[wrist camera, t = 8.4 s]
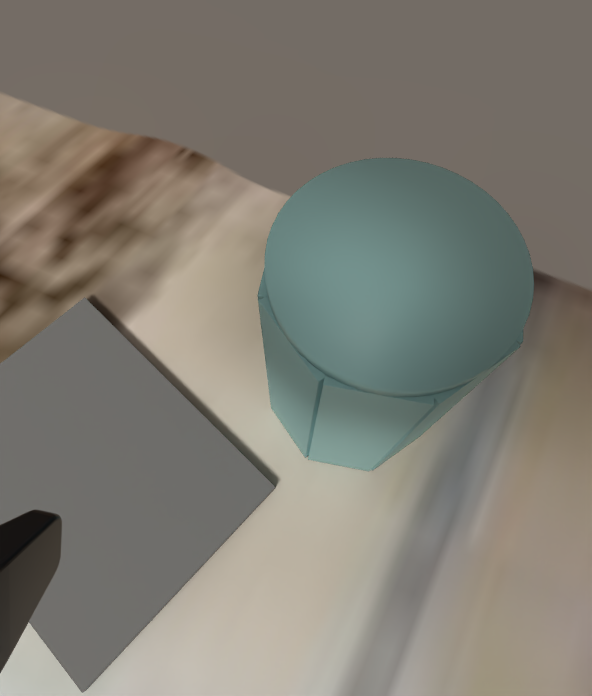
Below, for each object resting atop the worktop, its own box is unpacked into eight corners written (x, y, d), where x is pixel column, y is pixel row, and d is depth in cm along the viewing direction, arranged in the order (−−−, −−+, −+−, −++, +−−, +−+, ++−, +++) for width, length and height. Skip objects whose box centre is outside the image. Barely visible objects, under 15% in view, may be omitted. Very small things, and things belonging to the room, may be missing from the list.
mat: (275, 487, 21) (275, 486, 21) (86, 689, 18) (82, 692, 18) (87, 301, 24) (84, 297, 24) (-98, 447, 22) (-105, 445, 21)
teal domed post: (417, 480, 21) (533, 414, 11) (261, 450, 22) (236, 360, 12) (430, 337, 24) (534, 178, 14) (290, 312, 24) (292, 141, 14)
